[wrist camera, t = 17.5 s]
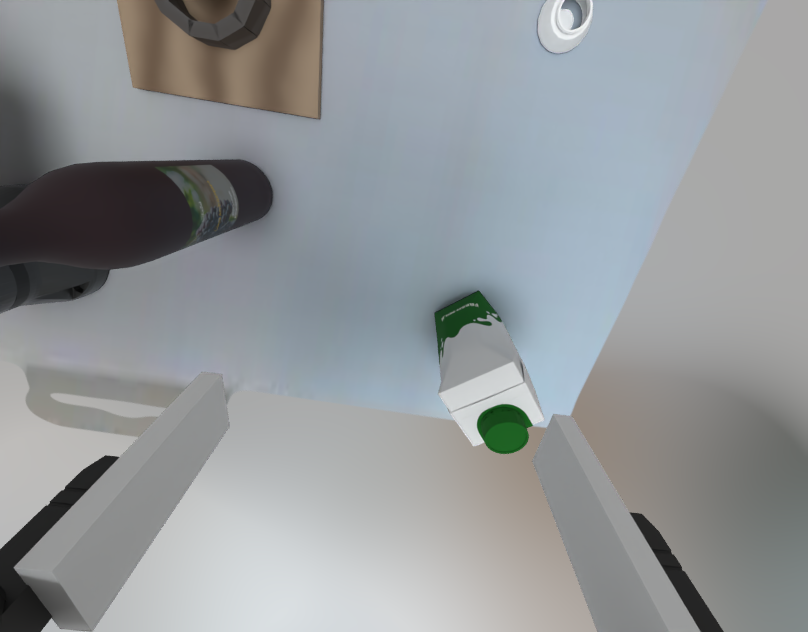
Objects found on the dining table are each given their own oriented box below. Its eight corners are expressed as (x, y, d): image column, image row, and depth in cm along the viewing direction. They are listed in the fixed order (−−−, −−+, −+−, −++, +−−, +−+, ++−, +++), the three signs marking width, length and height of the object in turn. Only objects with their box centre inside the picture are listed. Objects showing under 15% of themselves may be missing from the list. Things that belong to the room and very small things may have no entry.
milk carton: (454, 356, 50) (473, 470, 32) (425, 309, 46) (428, 407, 29) (508, 331, 47) (562, 438, 30) (481, 280, 44) (524, 366, 26)
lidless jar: (525, 29, 33) (559, 66, 34) (535, 18, 30) (571, 58, 31) (565, -26, 31) (599, 16, 32) (579, -43, 28) (616, 3, 29)
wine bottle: (264, 230, 42) (-7, 358, 15) (211, 203, 41) (-184, 292, 14) (281, 177, 40) (-16, 224, 13) (224, 147, 38) (-238, 127, 11)
